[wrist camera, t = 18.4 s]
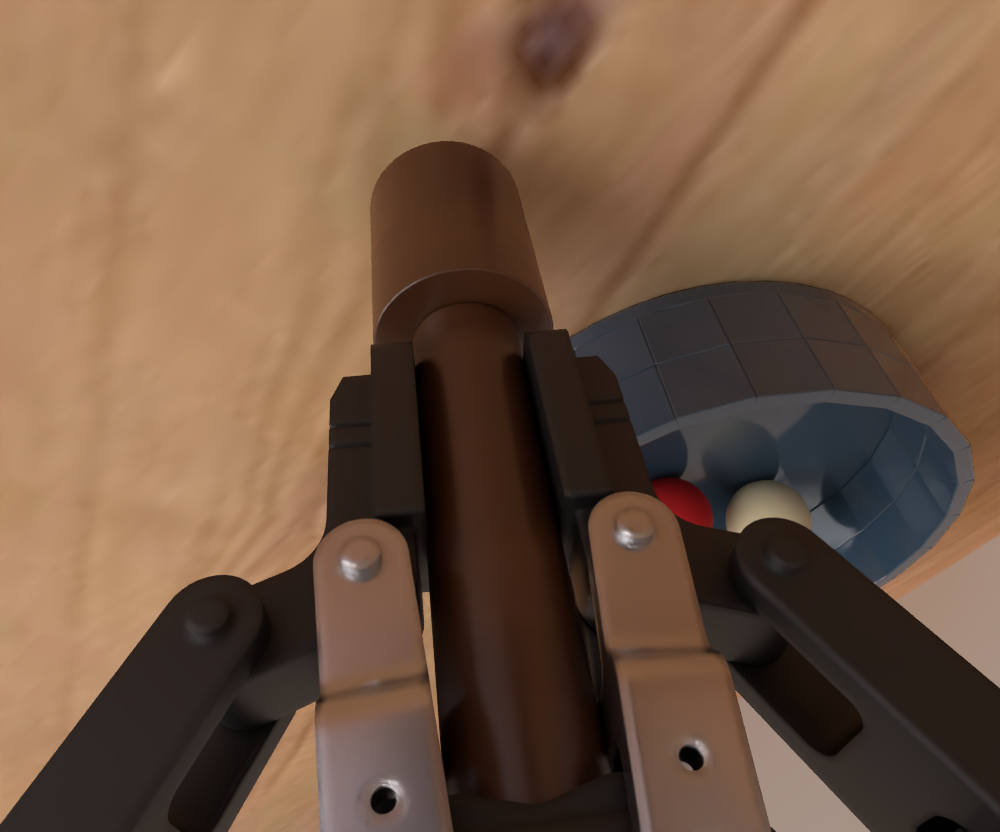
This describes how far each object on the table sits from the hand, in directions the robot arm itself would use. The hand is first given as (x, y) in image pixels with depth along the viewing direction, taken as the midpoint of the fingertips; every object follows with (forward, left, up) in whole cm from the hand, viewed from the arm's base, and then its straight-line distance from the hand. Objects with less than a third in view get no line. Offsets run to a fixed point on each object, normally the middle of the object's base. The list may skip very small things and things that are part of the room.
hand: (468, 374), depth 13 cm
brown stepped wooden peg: (0, 0, -5) cm, 5 cm away
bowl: (+2, +14, -7) cm, 16 cm away
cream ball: (+2, +18, -5) cm, 18 cm away
